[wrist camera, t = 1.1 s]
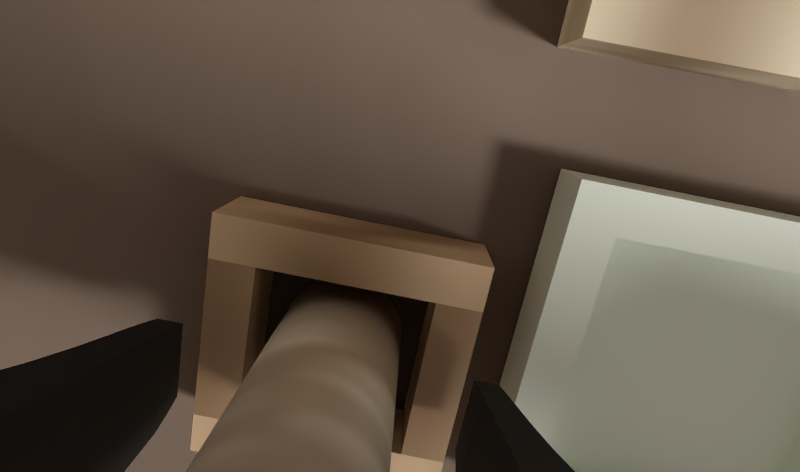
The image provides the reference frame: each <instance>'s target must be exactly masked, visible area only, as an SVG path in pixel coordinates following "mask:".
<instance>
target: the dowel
mask: <svg viewBox="0 0 800 472" xmlns="http://www.w3.org/2000/svg"><path fill="white" fill-rule="evenodd" d="M400 345H401V323H400V318H399V315H398V313H397V310H396V308H395V306H394V305H393V303H392V302H391V300H390V299H389V298H388V297H387V295H385V294H384V293H382V292H377V291H372V290H367V289H362V288H357V287H352V286H347V285H342V284H336V283H331V282H326V281H321V280H318V281H316V282H314V283H312V284H310V285H308V286H307V287H306V288H304V289H303V290H302V291H301V292H300V293H299V294H298V295H297V297H296V298H295V299H294V301H293V302H292V304H291V305H290V307H289V309H288V310H287V312H286V313H285V315H284V316H283V318H282V320H281V321H280V323H279V324H278V326H277V328H276V329H275V331H274V332H273V334H272V336H271V337H270V339H269V340H268V342H267V344H266V345H265V347H264V348H263V350H262V351H261V353H260V355H259V356H258V358H257V359H256V361H255V363H254V364H253V366H252V367H251V369H250V371H249V372H248V374H247V375H246V377H245V379H244V380H243V382H242V383H241V385H240V387H239V388H238V390H237V391H236V393H235V394H234V396H233V398H232V399H231V401H230V402H229V404H228V406H227V407H226V409H225V410H224V412H223V414H222V415H221V417H220V418H219V420H218V422H217V423H216V425H215V426H214V428H213V429H212V431H211V433H210V434H209V436H208V437H207V439H206V441H205V442H204V444H203V445H202V447H201V449H200V450H199V452H198V453H197V455H196V457H195V458H194V460H193V461H192V463H191V465H190V466H189V468H188V469H187V471H186V472H390V464H391V452H392V440H393V428H394V416H395V405H396V393H397V381H398V369H399V357H400Z"/></svg>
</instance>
